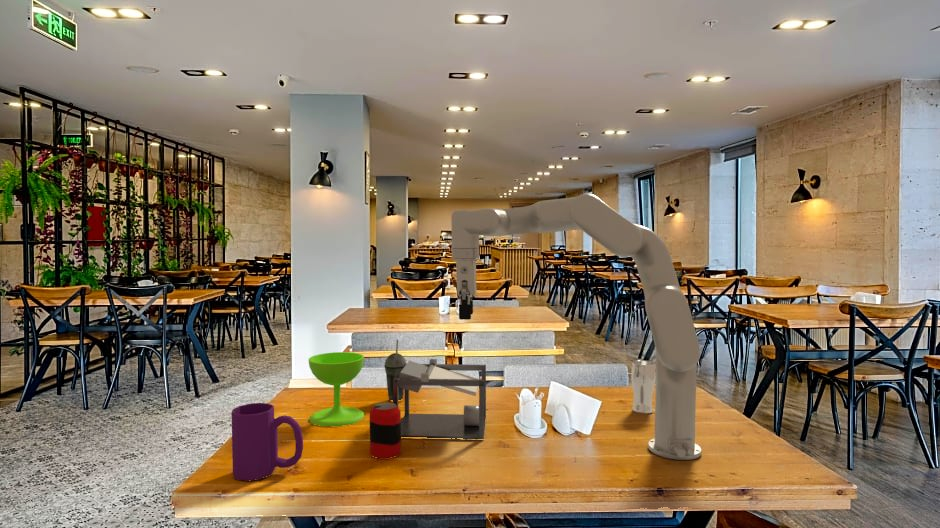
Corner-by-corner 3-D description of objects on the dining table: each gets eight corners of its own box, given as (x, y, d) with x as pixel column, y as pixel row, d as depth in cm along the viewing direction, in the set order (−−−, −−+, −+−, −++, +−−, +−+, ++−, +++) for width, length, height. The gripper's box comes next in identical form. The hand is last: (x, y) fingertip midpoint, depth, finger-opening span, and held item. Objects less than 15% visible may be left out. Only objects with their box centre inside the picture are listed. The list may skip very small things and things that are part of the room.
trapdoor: (471, 408, 148) (476, 391, 148) (396, 386, 149) (400, 369, 149) (474, 393, 162) (479, 377, 162) (405, 373, 163) (410, 357, 163)
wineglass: (369, 422, 161) (369, 361, 160) (312, 430, 155) (311, 366, 154) (359, 407, 175) (358, 350, 174) (306, 413, 170) (305, 354, 169)
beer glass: (657, 414, 168) (658, 365, 167) (634, 414, 168) (635, 365, 167) (650, 407, 175) (651, 360, 174) (628, 407, 175) (628, 359, 174)
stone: (463, 428, 153) (481, 429, 153) (463, 409, 153) (481, 409, 152) (465, 421, 158) (482, 421, 158) (465, 402, 158) (482, 402, 158)
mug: (240, 465, 131) (239, 403, 130) (307, 463, 132) (306, 401, 131) (226, 483, 122) (224, 415, 121) (298, 480, 123) (297, 413, 122)
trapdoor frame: (483, 441, 146) (483, 375, 145) (393, 439, 148) (392, 373, 147) (485, 418, 165) (485, 359, 164) (405, 416, 166) (405, 358, 165)
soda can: (367, 450, 140) (366, 403, 140) (396, 446, 143) (396, 400, 142) (373, 461, 133) (372, 412, 132) (404, 457, 136) (403, 408, 135)
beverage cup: (380, 402, 181) (379, 340, 180) (393, 396, 187) (392, 337, 186) (398, 405, 177) (398, 342, 176) (411, 399, 184) (410, 339, 183)
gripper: (477, 255, 144) (478, 321, 145) (480, 253, 162) (481, 312, 162) (448, 256, 145) (449, 321, 146) (454, 254, 162) (455, 312, 163)
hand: (466, 316), depth 154 cm, fingers open, 9 cm apart
